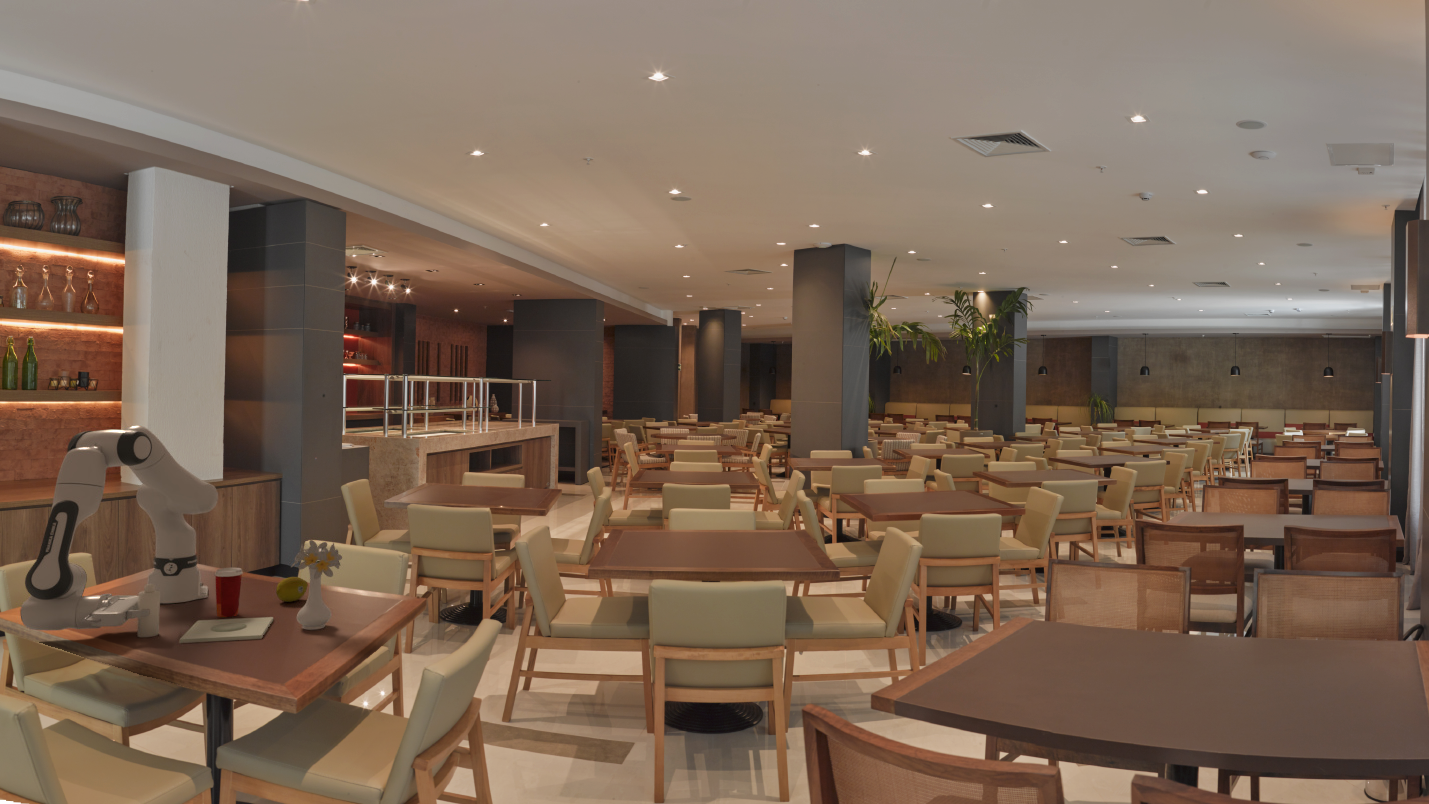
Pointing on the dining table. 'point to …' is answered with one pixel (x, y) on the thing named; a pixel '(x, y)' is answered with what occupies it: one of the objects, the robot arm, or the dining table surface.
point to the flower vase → (316, 583)
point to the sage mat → (227, 629)
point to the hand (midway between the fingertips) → (152, 609)
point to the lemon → (291, 589)
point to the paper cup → (228, 591)
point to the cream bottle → (150, 601)
